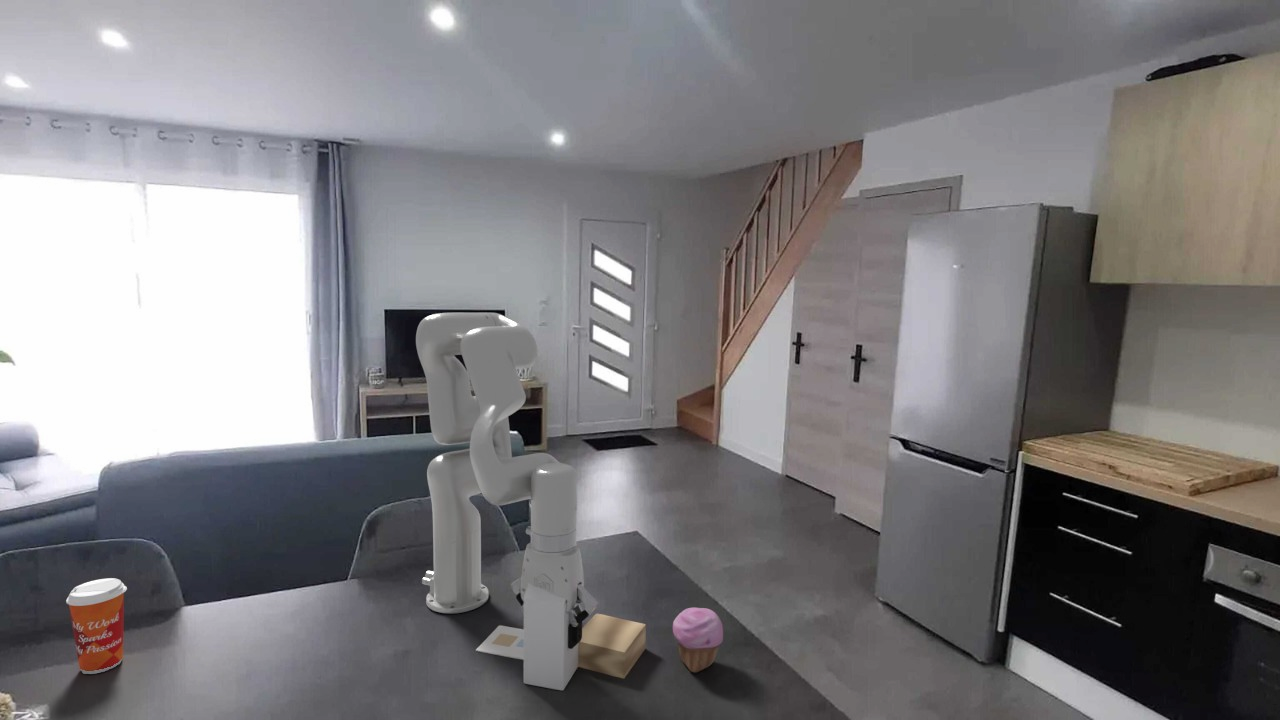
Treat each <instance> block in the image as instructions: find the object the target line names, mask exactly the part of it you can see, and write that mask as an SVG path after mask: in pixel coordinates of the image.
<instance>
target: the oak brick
mask: <svg viewBox="0 0 1280 720" xmlns="http://www.w3.org/2000/svg"><path fill="white" fill-rule="evenodd" d="M646 629H647V624H645V623H642V622H636V621H633V620H627V619H623V618H619V617H614V616H610V615H606V614H600V613H598V612H596V613H595V614H594V615H593V616H592V617H591V618H590V619H589V620H588V622H586V624H584V626H582V639H581V641H580V642H579V643H578V667H577V668H581V669H586V670H590V671H593V672H597V673H601V674H605V675H609V676H611V677H616V678H620V679H623V680H624V679H625V678H626V677H627V675H628V674H629V673H630V671H631V670H632V669H633V667H634V665H635V664H636V663H637V661H638V659H639V658H640V657H641V656H642V654H643V653H644V652H645V650H646V638H647V637H646V636H647V635H646Z"/></svg>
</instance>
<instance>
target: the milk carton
mask: <svg viewBox="0 0 1280 720" xmlns="http://www.w3.org/2000/svg"><path fill="white" fill-rule="evenodd" d="M566 601H567V600H566V599H564V598H561V597H558V596H556V595H553V594H550V592H548V591H545V590H543V589H541V588H539V587H535V586H533V585H531V584H529V583H528V586H527V589H526V592H525V595H524V612H523V629H524V660H523V683H524V684H526V685H530V686H536V687H542V688H547V689H552V690H555V691H556V690H558V691H564V690H565V688H566V686H567V685H568V683H570V680H571V679H572V677H573V675H574V674H575V672H576V670H578V668H579V667H578V644H577V645H576V646H574V647H573V648H572V649H570V648H568V626H569V625H570V624H571V623H570V621H569V613H567V614H566ZM573 611H574V609H573ZM574 613H575V611H574ZM575 615H576V613H575ZM576 616H577V615H576Z"/></svg>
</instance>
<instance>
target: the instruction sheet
mask: <svg viewBox="0 0 1280 720" xmlns="http://www.w3.org/2000/svg"><path fill="white" fill-rule="evenodd" d="M475 652H480V653H485V654H491V655H496V656H501V657H506V658H510V659H511V658H512V659H516V660H517V659H518V660H522V661H524V628H518V627H510V626H505V625H501V624H499V625H498V626H497V627H496V628H495V629H494V630H493V631H492V632H491V633H490V634H489V635H488V636H487V638H486V639H485V640H484V641H483V642H482V643H481V644H480V645H479V646H478V647H477V648H476V649H475Z"/></svg>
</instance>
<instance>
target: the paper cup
mask: <svg viewBox="0 0 1280 720" xmlns="http://www.w3.org/2000/svg"><path fill="white" fill-rule="evenodd" d="M127 587H128V586H126V585H125V584H124V583H123V582H122V581H121V579H118V578H114V577H113V578H112V577H110V578H108V577H107V578H100V579H95V580H90V581H87V582H84V583H81V584H79V585H76V586H75V587H74V588H73V589H72V590H71V591H70V593H69V594H68V597H67V598H66V600H65V602H66V604H67V605H68V606H69V615H70V621H71V626H72V633H73V637H74V638H73V639H74V643H75V650H76V651H75V652H76V656H77V661H78V662H77V663H78V667H80V668H79V670H80V669H82V670H85V671H94V670H99V669H104V668H107V667H111V666H113V665H114V664H116V663H118V662H119V661H120V660H121V659H122V658H123V659H124V617H125V616H124V615H125V614H124V608H125V607H124V594H125V592H126V591H127V590H128V588H127Z"/></svg>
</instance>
